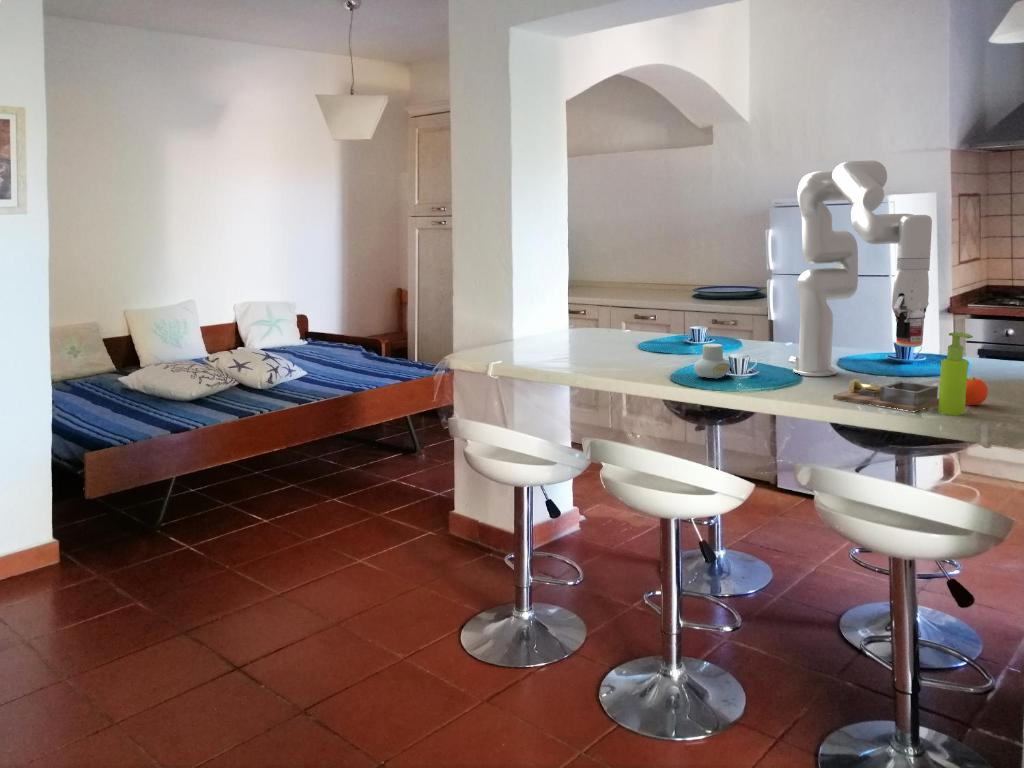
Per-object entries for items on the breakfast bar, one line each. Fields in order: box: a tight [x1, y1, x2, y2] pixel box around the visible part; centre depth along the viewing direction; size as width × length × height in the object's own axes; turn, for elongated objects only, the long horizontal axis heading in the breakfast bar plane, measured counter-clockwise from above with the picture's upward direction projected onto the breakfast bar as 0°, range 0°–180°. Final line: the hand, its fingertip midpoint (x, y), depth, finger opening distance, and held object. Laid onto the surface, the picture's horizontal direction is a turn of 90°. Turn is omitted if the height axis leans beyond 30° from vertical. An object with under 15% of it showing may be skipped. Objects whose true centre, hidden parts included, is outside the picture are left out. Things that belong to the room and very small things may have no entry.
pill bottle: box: [895, 303, 925, 348], centre depth 228 cm, size 6×6×11 cm
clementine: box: [965, 377, 989, 406], centre depth 229 cm, size 8×7×7 cm
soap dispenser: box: [937, 332, 974, 416], centre depth 220 cm, size 6×7×20 cm
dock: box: [832, 380, 939, 411], centre depth 236 cm, size 22×14×5 cm, turn 39°
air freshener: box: [693, 343, 731, 378], centre depth 273 cm, size 11×8×10 cm
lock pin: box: [849, 378, 883, 394], centre depth 240 cm, size 9×3×3 cm, turn 39°
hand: (909, 335), depth 229 cm, fingers closed on pill bottle, 6 cm apart
